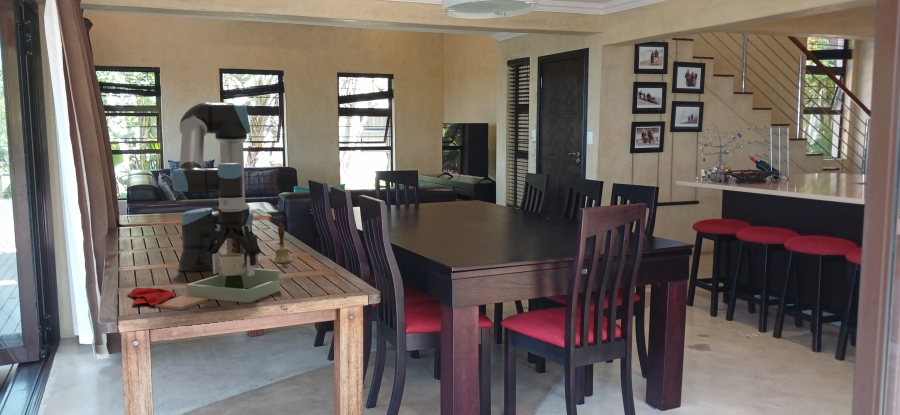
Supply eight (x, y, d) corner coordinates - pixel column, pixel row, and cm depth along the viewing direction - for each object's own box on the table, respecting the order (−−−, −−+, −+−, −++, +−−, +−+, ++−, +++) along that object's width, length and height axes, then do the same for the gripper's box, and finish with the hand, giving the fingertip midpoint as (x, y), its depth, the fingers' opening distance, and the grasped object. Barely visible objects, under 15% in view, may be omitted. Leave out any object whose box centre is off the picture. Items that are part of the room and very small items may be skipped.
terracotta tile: (154, 307, 206) (154, 304, 206) (182, 297, 217) (182, 295, 217) (181, 309, 202) (181, 307, 202) (208, 300, 214) (208, 298, 214)
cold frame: (187, 296, 219) (186, 275, 218) (221, 285, 235) (220, 265, 234) (248, 302, 211) (248, 280, 210) (280, 290, 227) (279, 270, 226)
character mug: (249, 295, 220) (248, 256, 219) (227, 298, 216) (226, 258, 215) (240, 289, 229) (239, 251, 228) (219, 291, 226) (217, 253, 224)
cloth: (180, 301, 208) (180, 294, 208) (131, 308, 202) (131, 300, 202) (170, 287, 231) (169, 280, 231) (125, 292, 224) (125, 285, 224)
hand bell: (268, 262, 277) (266, 223, 275) (280, 258, 284) (279, 221, 282) (284, 263, 274) (283, 225, 272) (296, 260, 281) (295, 222, 279)
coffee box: (259, 278, 246) (258, 234, 245) (248, 282, 240) (247, 237, 238) (238, 276, 249) (236, 233, 247) (227, 280, 243) (225, 236, 241)
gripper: (192, 210, 220) (195, 273, 223) (256, 212, 212) (258, 278, 214) (207, 208, 227) (210, 269, 230) (270, 210, 219) (272, 274, 221)
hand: (233, 274), depth 222 cm, fingers open, 13 cm apart
